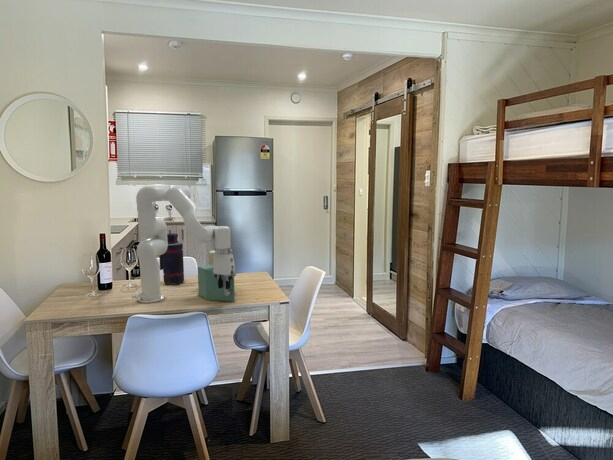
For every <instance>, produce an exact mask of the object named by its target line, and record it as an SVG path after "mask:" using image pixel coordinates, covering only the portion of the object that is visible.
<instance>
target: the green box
mask: <svg viewBox="0 0 613 460" xmlns="http://www.w3.org/2000/svg"><path fill="white" fill-rule="evenodd" d="M205 271H206V297H207V299H206V300H207V301H220V302H231V303H235V302H236V296H235V294H236V293H235V291H236V290H235V277H233V278H232V279H231V280H230V283H231V287H230V288H229V289H226V284H225V282H226V275H222V279H223V287H222V288H220V289H219V288H218V280H217V279H216V277H215V276H214V275H212V271H213V270H205ZM231 275H232V274H231Z"/></svg>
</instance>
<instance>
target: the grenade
mask: <svg viewBox="0 0 613 460" xmlns="http://www.w3.org/2000/svg"><path fill="white" fill-rule="evenodd" d="M178 238H179V233H175V232H174V233H172V232H169V233H167V240H168V247H167V251H166V252H165V253H164V254H162V255H159V258H158V259H159V269H160V271H162V273H163V277H162V278H163V283H164V285H174V286H178V285H180V283H184V281H185V270H184V269H185V268H184V267H185V266H184V265H185V264H184V243H182V242H179V240H178Z"/></svg>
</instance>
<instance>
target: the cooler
mask: <svg viewBox="0 0 613 460" xmlns="http://www.w3.org/2000/svg"><path fill="white" fill-rule="evenodd" d="M205 270H213V264H210V265H209V264H203V265H197V284H198V285H197V286H198V296H199V297H201V298H203V299H205V300H207V297H206V271H205Z"/></svg>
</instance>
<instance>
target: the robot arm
mask: <svg viewBox="0 0 613 460" xmlns="http://www.w3.org/2000/svg"><path fill="white" fill-rule="evenodd" d="M191 198H192V192H191V190H190V189H189V188H188V187H187V186H185V185H176V184H174V185H173V184H147V185H144V186H143V187H141V188H140V189H139V190H138V191H137V193H136V196H135V200H136V207H137V208H136V209H137V225H138V233H139V235H140V236H141V237H144V238H148V239H145V240H142V241H140V242H139V243H138V244H137V247H136V255H137V258H138V261H139V272H140V273H139V277H140V291H139V293H137V294H131V300H133V299H136V300H138V302H139V303H142V304H150V303H151V304H152V303H157V302H161V301H163V300H165V296H164V295H163V294H162V288H161V272H160V271H161V270H160V261H159V260H158V258H157V257H158V256H159V255H162V254H164V253H165V252H166V251H167V247H168V240H167V234H168V226H167V224H166V221H165V219H163V218H162V217H158V216H157V215H156V208H155V205H154V203H155V202H169V203H170V204H171V205H172V207H173V208H174V209H175V210H176V211H177V212H178V214H179V215H180V216H181V217H182V219H183V224H184V226H185V229H186V230H187V233H189V235H190V236H191V237H192V238H193V239H194V240H196V241H197V242H198V243H201V244H204V243H207V242H211V241H214V251H215V255H214V261H213V271H212V275H214V276H215V277H216V279H217V280H218V288H219V289H220V288H222V287H223V279H222V275H226V282H225V284H226V289H229V288H230V287H231V283H230V280H231V279H232V278H233V277H234V278H235V277H236V276H237V273H236V266H235V260H234V259H235V258H234V255H233V252H234V249H232V245H231V244H232V242H231V241H232V240H231V228H230V226H227V225H219V226H218V225H213V224H212V225H211V224H210V225H204V226H203V225H202V224H201V222H200V221H199V220H198V218H197V215H196V212H197V210H198V207H197V205H196V204H195V203H194V202H193V201H192V200H191ZM231 274H232V275H231Z"/></svg>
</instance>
